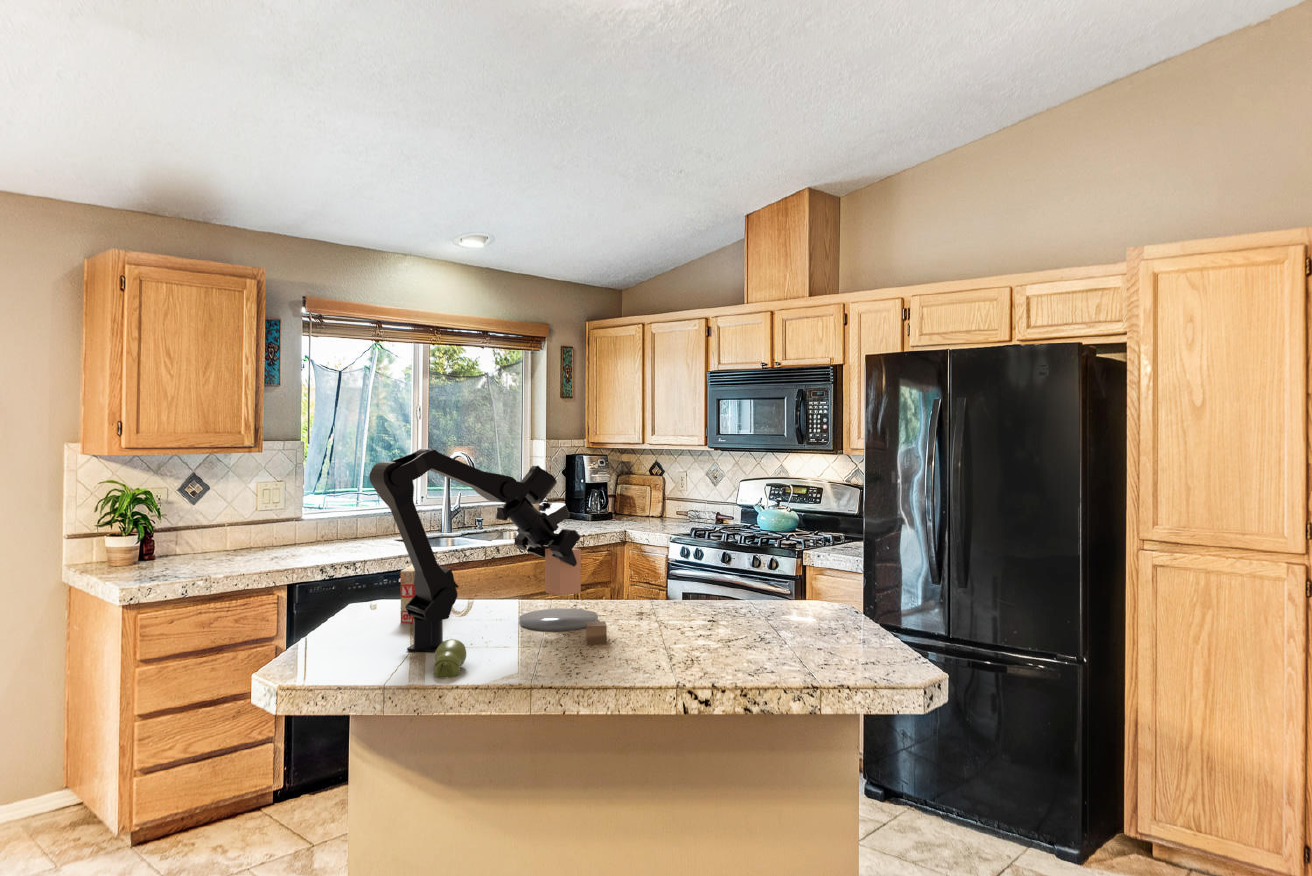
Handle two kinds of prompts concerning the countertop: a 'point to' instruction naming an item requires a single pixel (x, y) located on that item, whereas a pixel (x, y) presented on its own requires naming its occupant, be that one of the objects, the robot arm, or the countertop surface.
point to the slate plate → (557, 619)
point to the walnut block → (596, 633)
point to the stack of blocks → (407, 592)
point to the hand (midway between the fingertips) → (567, 563)
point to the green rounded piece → (449, 658)
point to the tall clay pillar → (562, 574)
